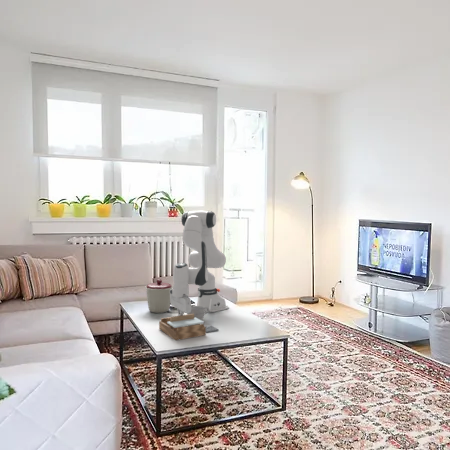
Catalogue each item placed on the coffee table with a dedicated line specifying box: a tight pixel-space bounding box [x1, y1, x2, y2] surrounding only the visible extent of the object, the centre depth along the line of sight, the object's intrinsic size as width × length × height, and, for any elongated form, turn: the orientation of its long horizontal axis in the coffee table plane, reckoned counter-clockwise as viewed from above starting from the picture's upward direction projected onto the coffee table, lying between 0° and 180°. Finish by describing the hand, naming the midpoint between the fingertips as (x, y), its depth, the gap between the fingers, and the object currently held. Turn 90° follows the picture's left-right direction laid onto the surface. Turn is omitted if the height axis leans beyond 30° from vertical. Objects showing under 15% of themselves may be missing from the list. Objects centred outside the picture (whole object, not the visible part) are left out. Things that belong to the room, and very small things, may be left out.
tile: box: [205, 325, 219, 334], centre depth 251 cm, size 8×8×1 cm
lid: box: [167, 313, 205, 329], centre depth 242 cm, size 18×10×3 cm, turn 121°
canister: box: [144, 278, 173, 314], centre depth 289 cm, size 18×18×21 cm
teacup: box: [186, 305, 209, 321], centre depth 270 cm, size 14×11×8 cm
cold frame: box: [158, 316, 207, 341], centre depth 246 cm, size 18×22×6 cm
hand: (180, 316), depth 247 cm, fingers closed
